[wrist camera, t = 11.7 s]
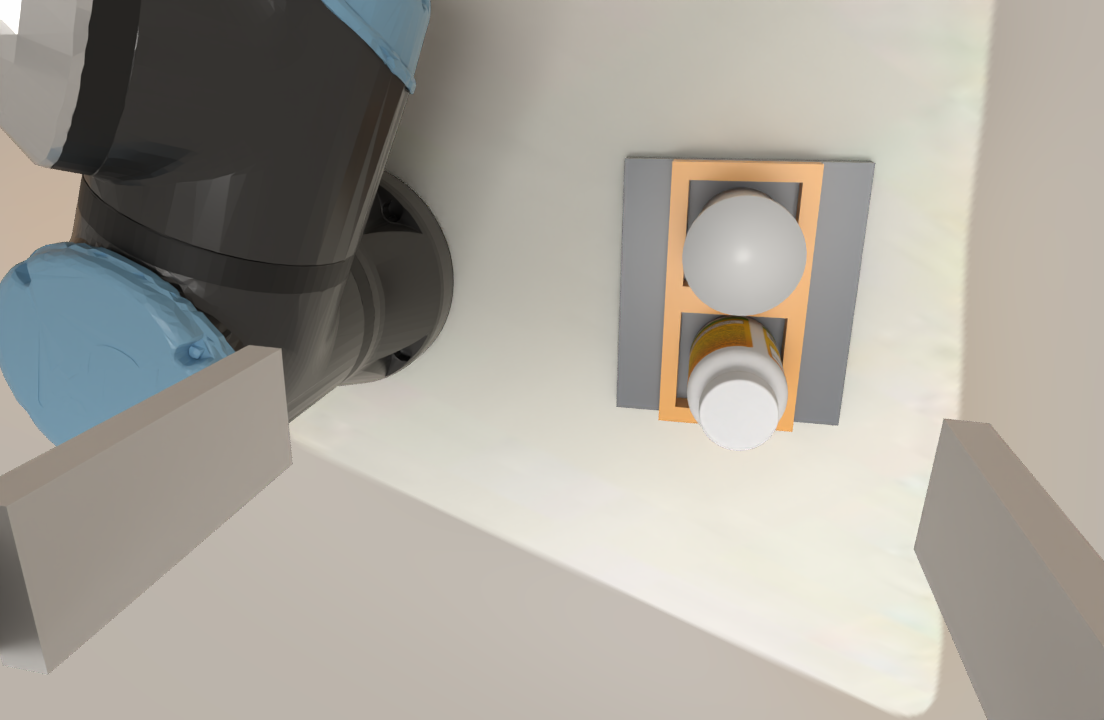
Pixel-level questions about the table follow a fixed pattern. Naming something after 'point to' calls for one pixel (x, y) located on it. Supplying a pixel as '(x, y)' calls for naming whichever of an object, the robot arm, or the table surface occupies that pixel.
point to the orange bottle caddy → (740, 272)
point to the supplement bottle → (736, 382)
